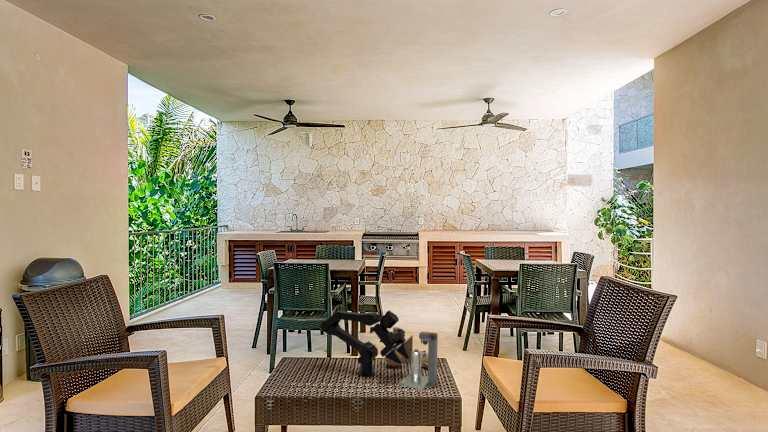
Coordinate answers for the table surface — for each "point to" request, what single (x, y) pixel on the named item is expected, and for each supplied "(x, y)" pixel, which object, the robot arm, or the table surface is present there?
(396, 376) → the table surface
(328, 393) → the table surface
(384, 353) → the robot arm
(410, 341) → the brown angular piece
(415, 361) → the cocktail shaker
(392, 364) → the natural sponge
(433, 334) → the press
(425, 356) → the ceramic sculpture
